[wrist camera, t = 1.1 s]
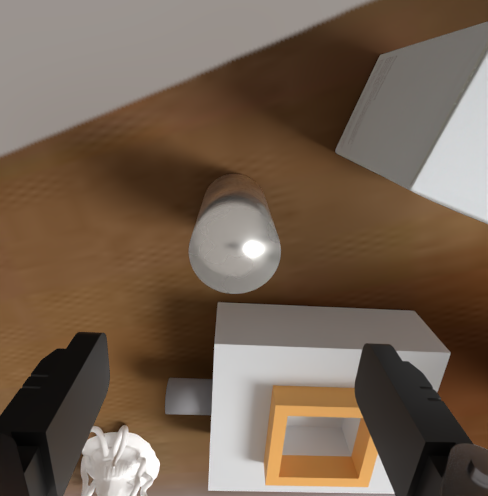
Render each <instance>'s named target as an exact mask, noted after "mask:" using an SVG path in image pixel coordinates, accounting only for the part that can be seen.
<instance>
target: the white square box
mask: <svg viewBox="0 0 488 496" xmlns="http://www.w3.org/2000/svg"><path fill="white" fill-rule="evenodd" d="M366 343H373V344H390V345H392V346H393V347H394V349H395V350H396V352H397V353H398V355H399V356H400V358H401V359H402V361H409V362H410V363H411V364H412V365H414V366H415V367H416V368H417V369H419V370H420V371H421V372H422V373H423V374H424V375H425V376H426V378H427V379H428V381H429V382H430V383H431V385H432V386H433V390H435V391H436V392H438V389H439V386H440V383H441V380H442V377H443V375H444V372H445V369H446V366H447V363H448V360H449V357H450V354H451V352H450V351H449V350H448V349H447V348H446V347H445V345H444V344H443V343H442V342H441V341H440V340H439V339H438V337H437V336H436V335H435V334H434V333H433V332H432V331H431V329H430V328H429V327H428V326H427V325H426V324H425V322H424V321H423V320H422V319H421V318H420V317H419V316H418V314H417V313H416V312H415V311H410V310H387V309H364V308H341V307H317V306H294V305H271V304H248V303H225V302H218V305H217V318H216V330H215V342H214V365H213V379H195V378H169V380H168V384H167V390H166V398H165V413H166V414H184V415H211V436H210V460H209V484H208V490H212V491H269V492H325V493H382V494H395V493H394V490H393V488H392V486H391V483H390V481H389V478H388V476H387V474H386V471H385V469H384V466H383V464H382V462H381V459H380V457H379V455H378V452H377V450H376V447H375V445H374V443H373V440H372V438H371V435H370V433H369V431H368V428H367V426H366V423H365V421H364V419H363V416H362V414H361V411H360V409H359V407H358V404H357V401H356V398H355V389H354V387H355V379H356V375H357V370H358V366H359V362H360V357H361V353H362V349H363V346H364V345H365V344H366Z"/></svg>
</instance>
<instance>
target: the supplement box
mask: <svg viewBox="0 0 488 496" xmlns="http://www.w3.org/2000/svg"><path fill="white" fill-rule="evenodd" d="M335 152H336V153H337V154H338V155H340V156H342V157H344V158H346V159H348V160H350V161H352V162H354V163H356V164H358V165H360V166H362V167H364V168H367V169H369V170H371V171H373V172H375V173H377V174H379V175H381V176H383V177H385V178H387V179H389V180H391V181H393V182H395V183H397V184H399V185H401V186H403V187H405V188H406V189H408V190H410V191H412V192H414V193H416V194H418V195H420V196H422V197H424V198H427V199H429V200H431V201H433V202H435V203H438V204H440V205H442V206H445V207H447V208H449V209H452V210H454V211H456V212H459V213H461V214H464V215H466V216H469V217H471V218H474V219H476V220H479V221H482V222H484V223H487V224H488V22H485V23H482V24H478V25H475V26H472V27H469V28H465V29H462V30H459V31H456V32H452V33H449V34H446V35H443V36H440V37H436V38H433V39H430V40H426V41H423V42H420V43H417V44H414V45H410V46H407V47H404V48H401V49H397V50H394V51H391V52H388V53H385V54H381V55H380V56H379V58H378V60H377V62H376V64H375V66H374V69H373V71H372V73H371V75H370V77H369V79H368V81H367V83H366V86H365V88H364V90H363V92H362V94H361V96H360V98H359V100H358V102H357V105H356V107H355V109H354V111H353V113H352V115H351V117H350V119H349V122H348V124H347V126H346V128H345V130H344V132H343V135H342V136H341V138H340V141H339V143H338V145H337V147H336V150H335Z"/></svg>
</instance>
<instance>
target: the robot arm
mask: <svg viewBox="0 0 488 496" xmlns="http://www.w3.org/2000/svg"><path fill="white" fill-rule="evenodd" d="M109 380H110V370H109V359H108V348H107V338H106V335H105V333H93V332H78V333H77V334H76V335H75V336H74V338H73V339H72V341H71V342H70V344H69V345H68V347H67V348H66V349H56V350H55V351H53V352H52V353H50V354H49V355H48V356H46V357H45V358H43V359H42V360H41V361H40V363H39V364H38V365H37V367H36V368H35V369H34V371H33V372H32V373H31V377H28V379H27V380H26V381H25V383H24V384H23V387H22V388H20V390H19V391H18V392H17V394H16V395H15V396H14V398H13V399H12V400H11V402H10V403H9V405H8V406H7V407H6V409H5V410H4V411H3V413H2V414H1V415H0V496H63V495H64V492H65V490H66V488H67V485H68V483H69V481H70V478H71V476H72V474H73V471H74V469H75V467H76V464H77V462H78V460H79V457H80V455H81V453H82V450H83V448H84V446H85V443H86V441H87V439H88V436H89V434H90V432H91V429H92V427H93V425H94V422H95V420H96V418H97V415H98V413H99V411H100V408H101V406H102V404H103V401H104V399H105V397H106V394H107V391H108V387H109ZM354 389H355V398H356V401H357V404H358V407H359V409H360V411H361V414H362V416H363V419H364V421H365V423H366V426H367V428H368V431H369V433H370V435H371V438H372V440H373V443H374V445H375V447H376V450H377V452H378V455H379V457H380V459H381V462H382V464H383V466H384V469H385V471H386V474H387V476H388V478H389V481H390V483H391V486H392V488H393V490H394V493H395V495H396V496H488V450H487V449H485V448H482V447H480V446H477V445H474V444H473V443H472V441H471V440H470V439H469V437H468V436H467V434H466V433H465V431H464V430H463V429H462V427H461V426H460V424H459V423H458V422H457V420H456V419H455V417H454V416H453V415H452V413H451V412H450V410H449V409H448V407H447V406H446V405H445V403H444V402H443V401H441V398H440V396H439V395H438V393H437V392H436V391H435V390H433V386H432V385H431V383H430V382H429V381H428V379H427V378H426V376H425V375H424V374H423V373H422V372H421V371H420V370H419V369H417V368H416V367H415V366H414V365H412V364H411V363H410V362H409V361H402V359H401V358H400V356H399V355H398V353H397V352H396V350H395V349H394V347H393V346H392V345H390V344H373V343H366V344H365V345H364V346H363V349H362V353H361V357H360V362H359V366H358V370H357V375H356V379H355V387H354Z"/></svg>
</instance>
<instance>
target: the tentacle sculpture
mask: <svg viewBox="0 0 488 496" xmlns="http://www.w3.org/2000/svg"><path fill="white" fill-rule="evenodd" d="M91 432H95V433H96V434H97V436H95V437H92V438H90V439H89V440H87V442H86V443H85V446H84V448H83V450H82V454H83V458H82V461H81V477H82V479H83V486H82V494H81V496H92V494H93V492H94V489H95V488H96V493H97V494H98V496H137V492H138V490H139V488H140V487H142V488H141V491H140V495H141V496H147V493H146V490H147V489H148V488H149V487H150V486H151V485H152V484H153V480H154V479H155V478H156V477H157V474H158V472H159V466H160V462H159V460H158V458H157V457H156V456H155V452H154V451H153V450H152V448H151V447H150V444H149V443H148V442H146V441H145V440H143V439H142V438H141V437H140V436H138V435H136V434H133V433H128V427H127V426H126V425H123V426H122V427H121V428H120V429H119V431H118V432H110V433H105V434H104V433H103V431H102V430H101V428H99V427H97V426H93V427H92V429H91ZM87 473H88V474H89V475H90V476H91V477H92V478H93V479H94V480H93V481H92V483H91V485H90V486H88V475H87Z"/></svg>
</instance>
